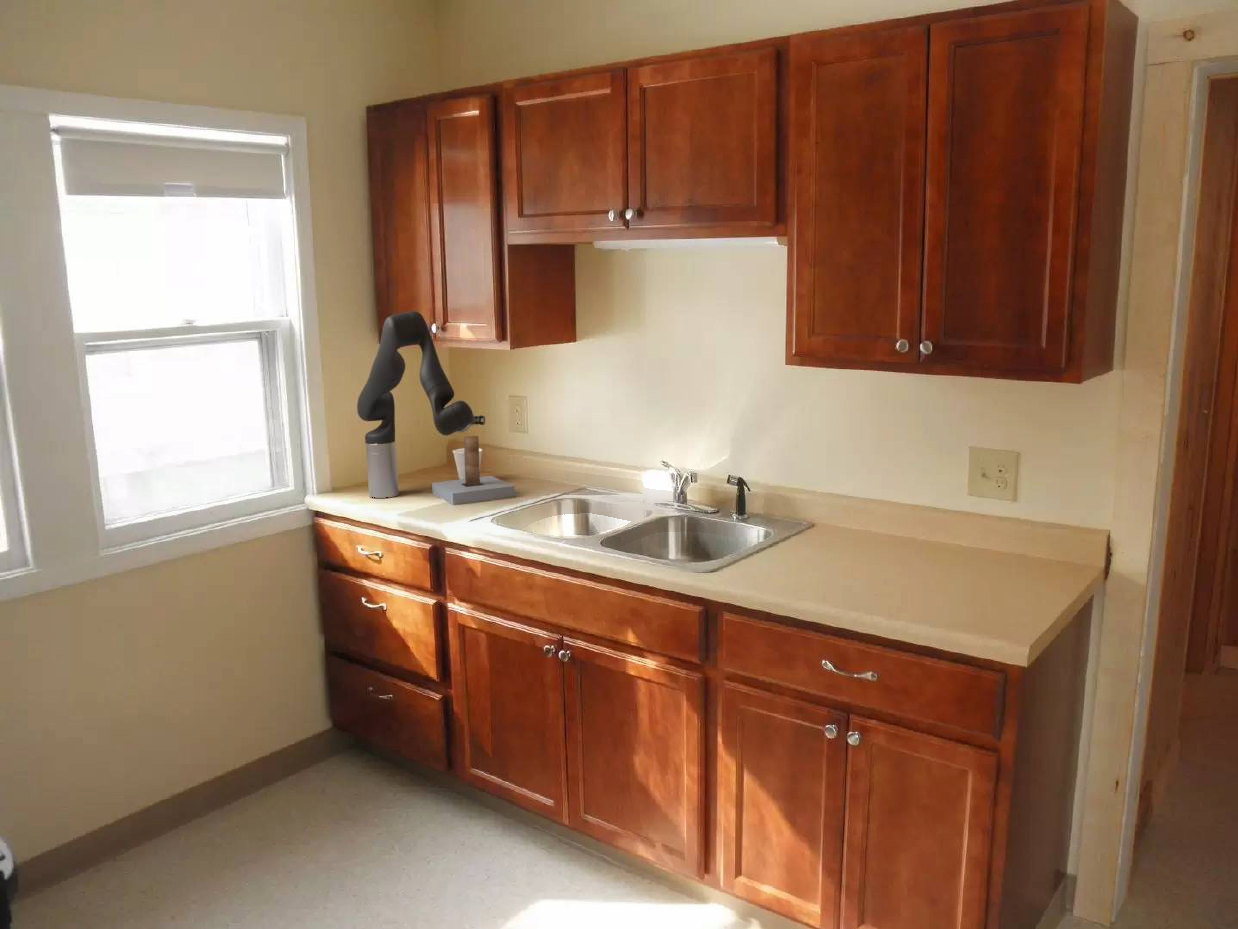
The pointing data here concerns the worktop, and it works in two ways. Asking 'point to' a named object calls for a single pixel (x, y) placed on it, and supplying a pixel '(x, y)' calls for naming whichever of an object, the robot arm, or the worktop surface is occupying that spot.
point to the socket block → (473, 490)
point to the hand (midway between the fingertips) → (461, 420)
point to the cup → (462, 461)
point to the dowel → (471, 461)
